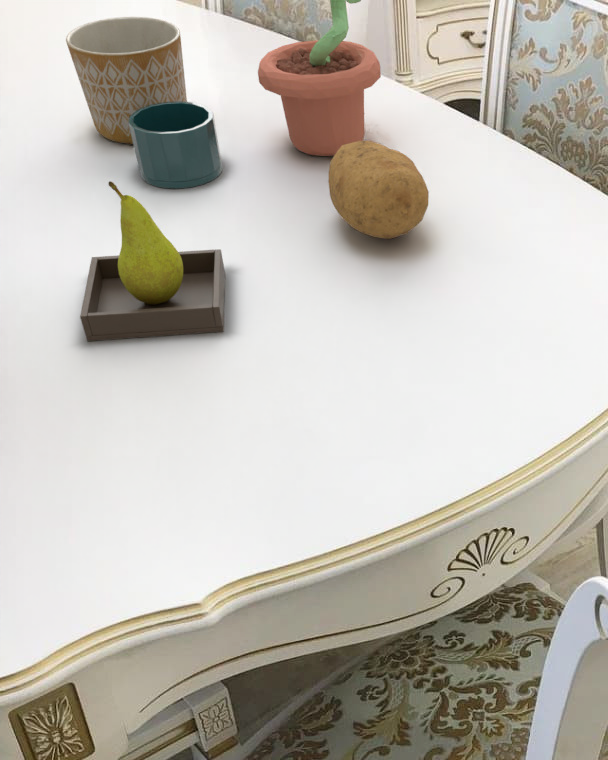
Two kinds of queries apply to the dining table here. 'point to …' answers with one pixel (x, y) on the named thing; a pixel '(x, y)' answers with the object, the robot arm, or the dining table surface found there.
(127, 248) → the fruit
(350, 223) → the potato
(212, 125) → the cup
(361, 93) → the decorative flower
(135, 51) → the planter
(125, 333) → the tray
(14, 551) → the dining table surface
